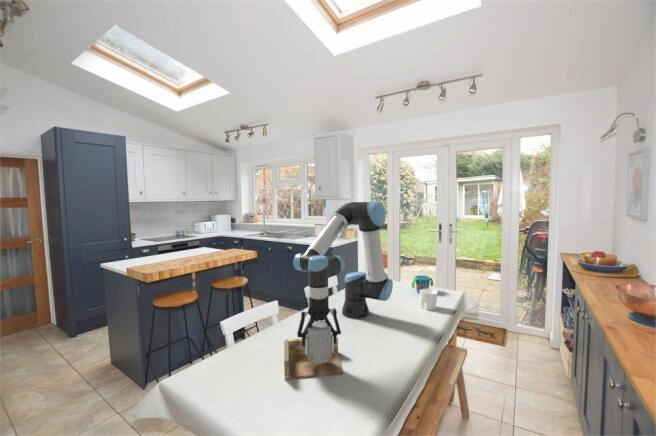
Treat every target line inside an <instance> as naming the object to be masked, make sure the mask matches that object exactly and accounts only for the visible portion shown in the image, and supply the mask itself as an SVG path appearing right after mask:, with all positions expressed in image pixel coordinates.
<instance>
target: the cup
mask: <svg viewBox="0 0 656 436" xmlns="http://www.w3.org/2000/svg"><path fill="white" fill-rule="evenodd" d="M419 298H420V307H421V310H422V309H423V310H425V311H434V310H436V308H437V299H438V291H437V290H436V289H432V288H429V289H421V290H420V292H419Z"/></svg>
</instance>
